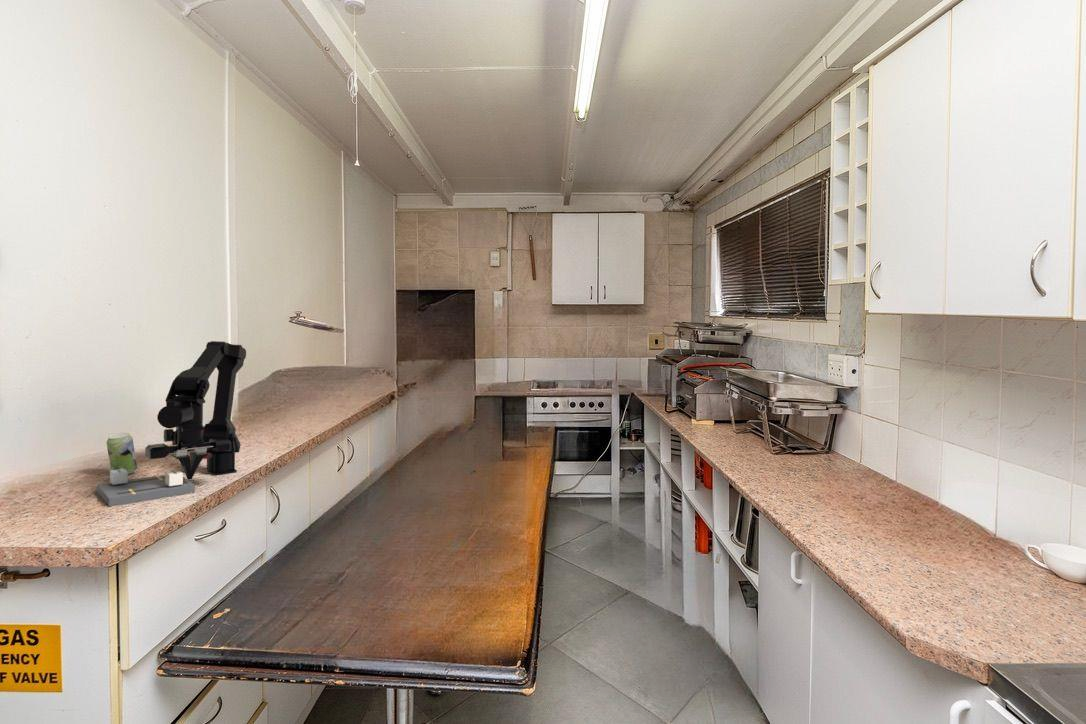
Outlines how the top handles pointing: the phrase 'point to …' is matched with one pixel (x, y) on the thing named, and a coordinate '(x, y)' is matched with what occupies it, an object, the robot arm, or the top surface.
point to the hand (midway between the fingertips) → (189, 479)
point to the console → (141, 490)
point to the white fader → (118, 476)
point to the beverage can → (121, 452)
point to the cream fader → (174, 478)
